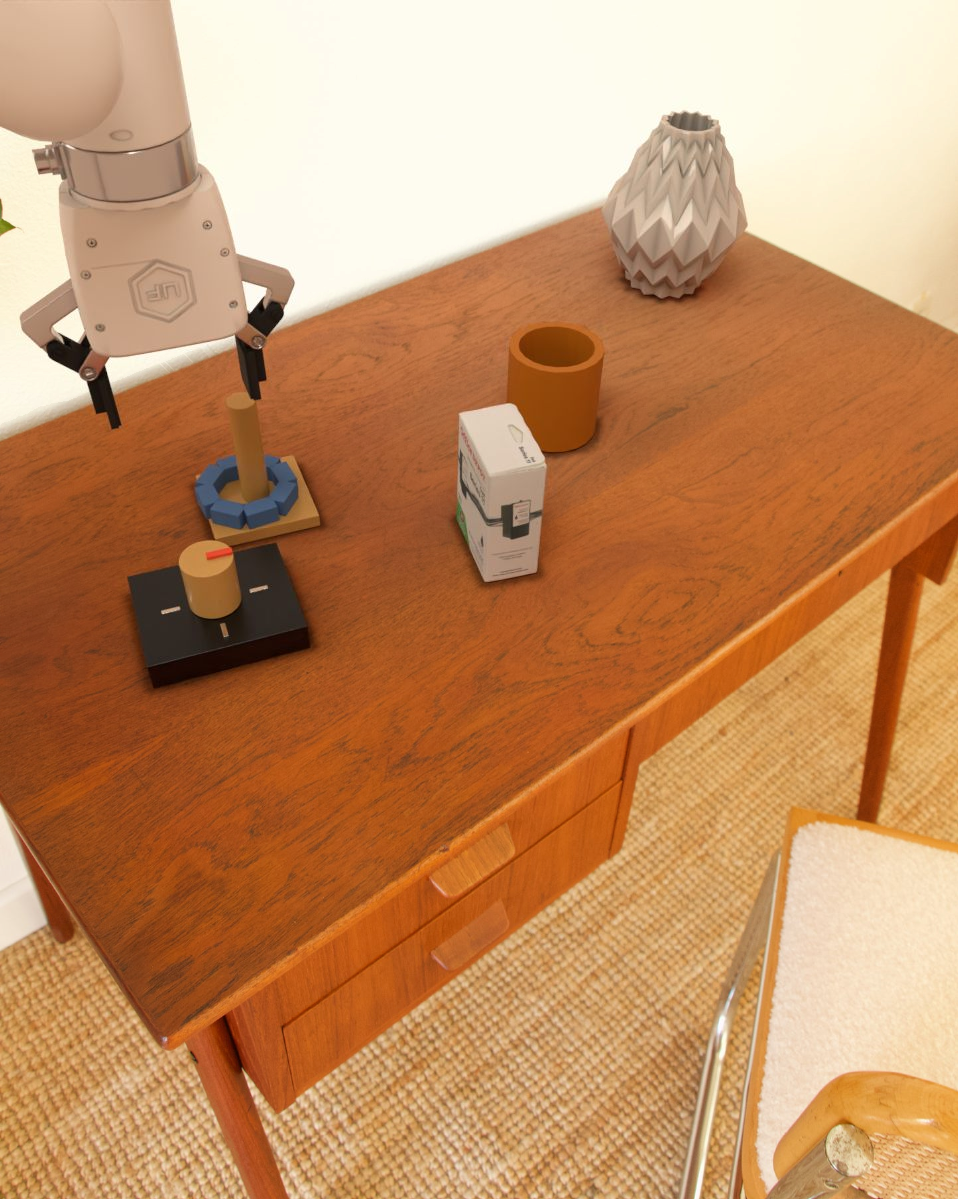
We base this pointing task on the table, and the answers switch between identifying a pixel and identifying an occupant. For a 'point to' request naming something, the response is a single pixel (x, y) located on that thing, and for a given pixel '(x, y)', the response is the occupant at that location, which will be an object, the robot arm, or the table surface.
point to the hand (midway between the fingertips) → (184, 403)
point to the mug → (556, 382)
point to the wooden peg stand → (258, 479)
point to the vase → (676, 207)
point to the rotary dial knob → (210, 579)
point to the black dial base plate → (218, 620)
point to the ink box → (500, 491)
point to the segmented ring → (249, 512)
